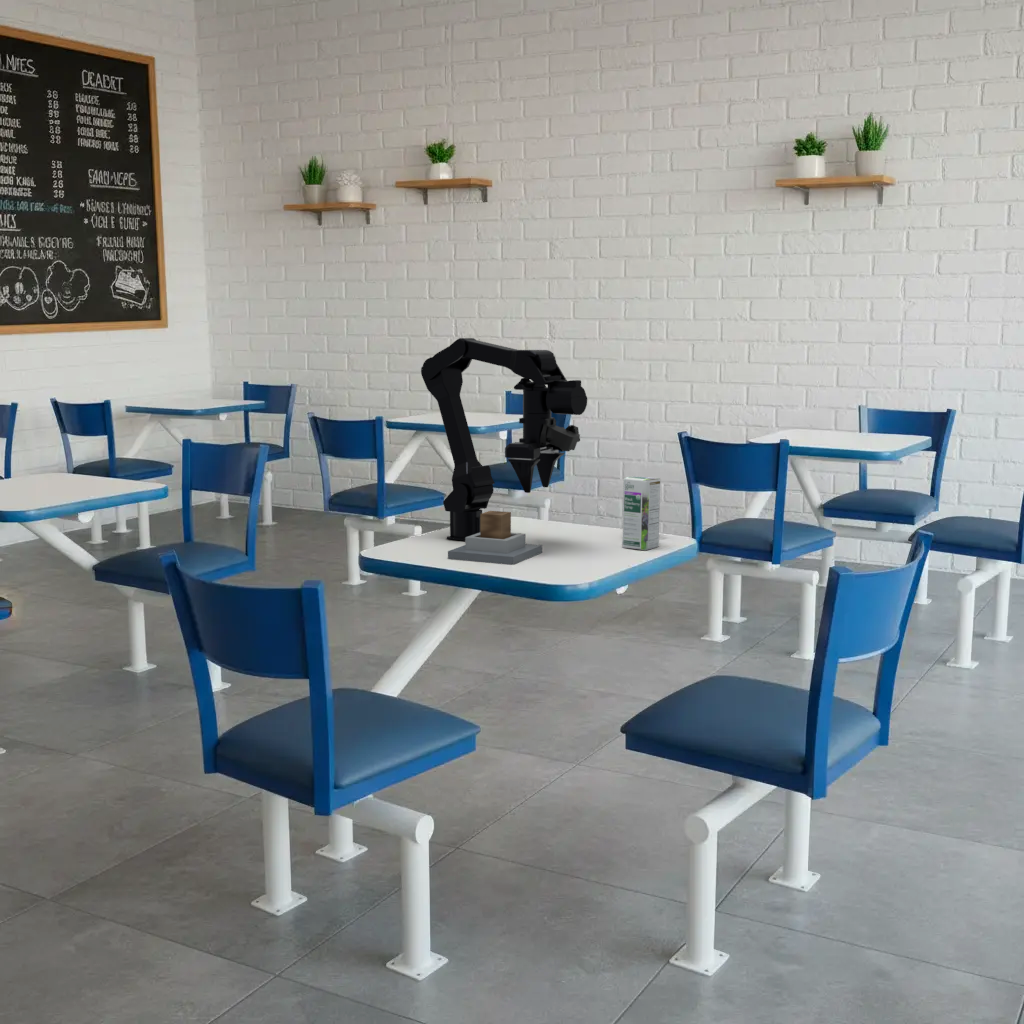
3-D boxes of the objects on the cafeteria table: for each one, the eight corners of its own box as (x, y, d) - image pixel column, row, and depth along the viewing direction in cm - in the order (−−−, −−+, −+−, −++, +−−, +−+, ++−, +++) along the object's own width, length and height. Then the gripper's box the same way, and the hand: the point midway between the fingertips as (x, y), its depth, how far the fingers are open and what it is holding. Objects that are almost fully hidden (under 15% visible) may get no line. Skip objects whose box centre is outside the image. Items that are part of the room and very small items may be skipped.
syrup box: (621, 547, 250) (622, 477, 247) (636, 543, 254) (637, 474, 252) (645, 551, 246) (646, 479, 244) (659, 546, 251) (661, 477, 249)
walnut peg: (480, 549, 239) (480, 513, 238) (490, 545, 243) (490, 510, 242) (501, 550, 238) (501, 515, 237) (510, 547, 242) (510, 512, 241)
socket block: (447, 558, 237) (447, 538, 237) (479, 547, 250) (479, 527, 249) (513, 564, 232) (513, 543, 231) (542, 552, 244) (542, 532, 244)
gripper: (556, 417, 233) (556, 498, 235) (591, 411, 250) (590, 486, 252) (503, 415, 238) (503, 494, 240) (541, 409, 254) (540, 483, 257)
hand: (536, 489), depth 247 cm, fingers open, 9 cm apart
